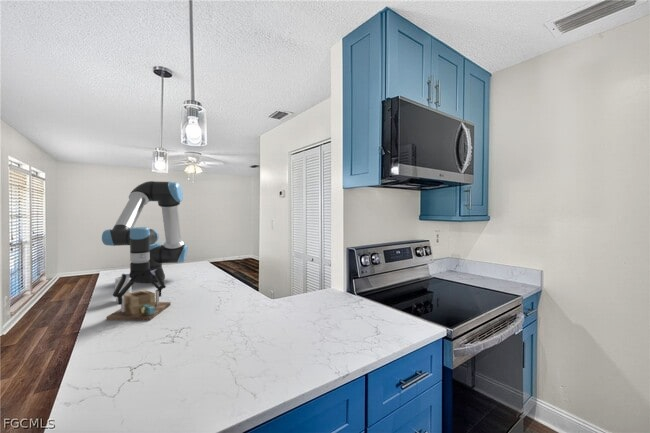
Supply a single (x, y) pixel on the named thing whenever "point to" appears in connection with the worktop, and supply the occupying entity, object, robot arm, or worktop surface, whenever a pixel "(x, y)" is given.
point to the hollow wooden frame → (140, 302)
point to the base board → (129, 316)
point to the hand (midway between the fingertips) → (140, 307)
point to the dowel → (142, 311)
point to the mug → (122, 286)
